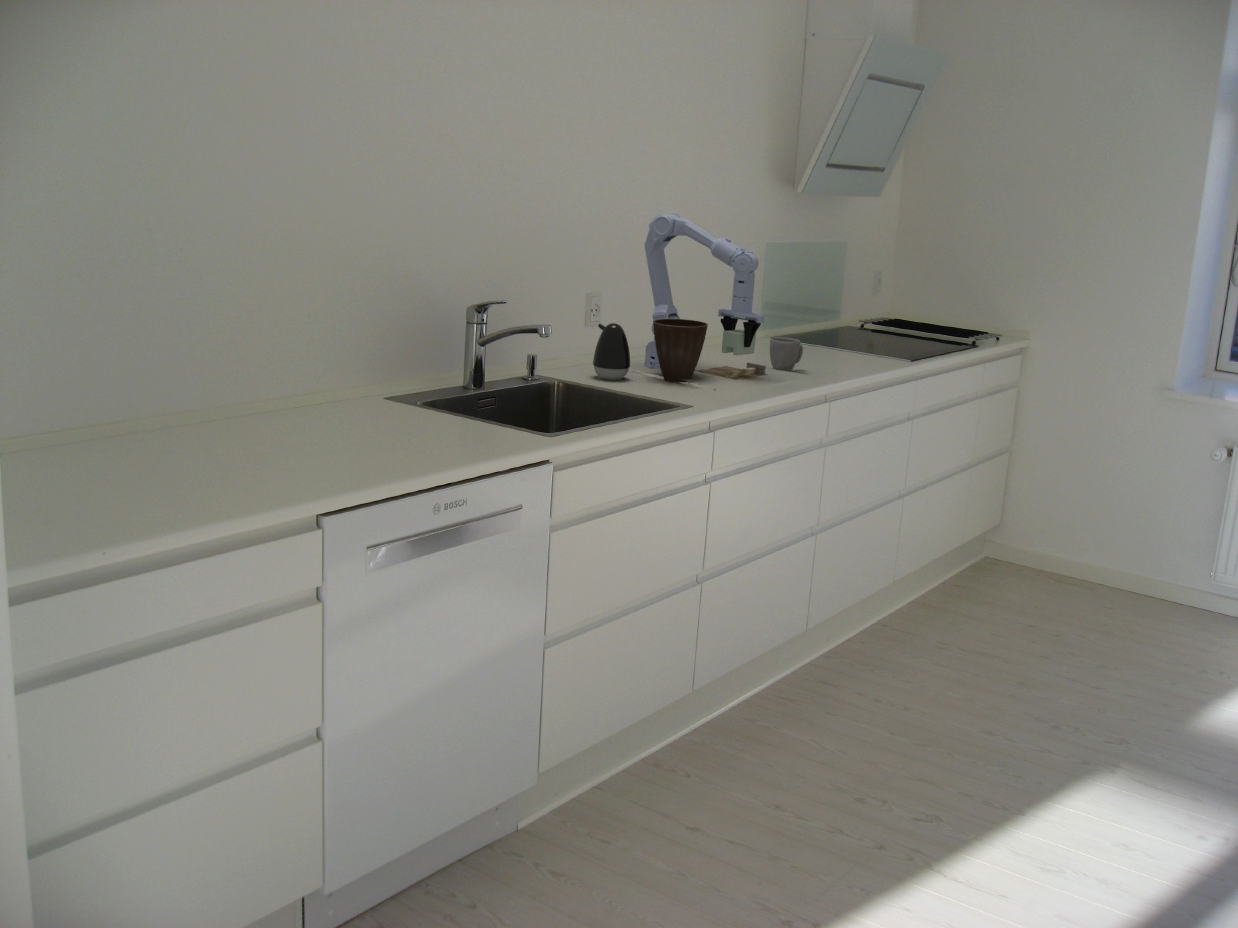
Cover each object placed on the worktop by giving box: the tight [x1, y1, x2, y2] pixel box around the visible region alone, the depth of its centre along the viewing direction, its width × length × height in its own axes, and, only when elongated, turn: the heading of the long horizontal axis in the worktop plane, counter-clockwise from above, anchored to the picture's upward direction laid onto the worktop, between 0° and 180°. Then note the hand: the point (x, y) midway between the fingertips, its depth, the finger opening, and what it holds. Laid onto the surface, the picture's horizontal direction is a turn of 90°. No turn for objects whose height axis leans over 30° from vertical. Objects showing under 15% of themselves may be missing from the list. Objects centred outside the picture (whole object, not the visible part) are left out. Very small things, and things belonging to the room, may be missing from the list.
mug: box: [769, 336, 804, 373], centre depth 334 cm, size 12×9×10 cm
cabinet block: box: [721, 328, 757, 357], centre depth 314 cm, size 8×6×6 cm
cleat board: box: [695, 362, 768, 380], centre depth 321 cm, size 15×15×4 cm
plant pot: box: [652, 318, 709, 383], centre depth 309 cm, size 15×15×16 cm
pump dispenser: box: [592, 322, 631, 381], centre depth 305 cm, size 10×10×15 cm
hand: (738, 345), depth 315 cm, fingers closed on cabinet block, 5 cm apart
